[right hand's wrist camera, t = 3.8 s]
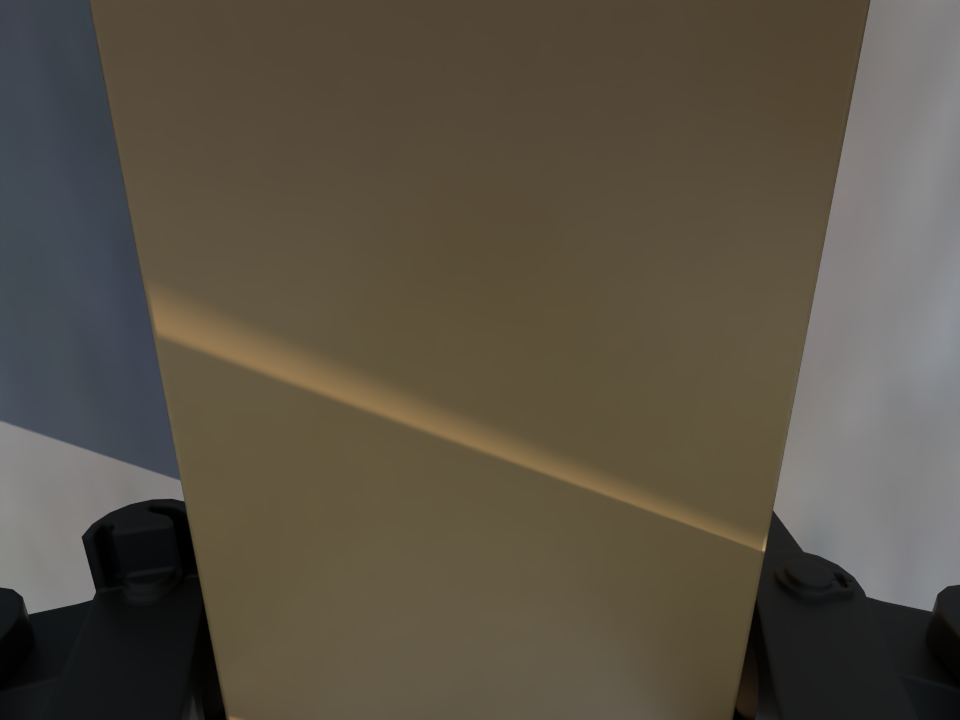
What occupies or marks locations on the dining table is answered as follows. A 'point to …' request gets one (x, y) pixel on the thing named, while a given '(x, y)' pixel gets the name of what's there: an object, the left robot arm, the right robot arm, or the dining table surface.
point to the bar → (479, 334)
